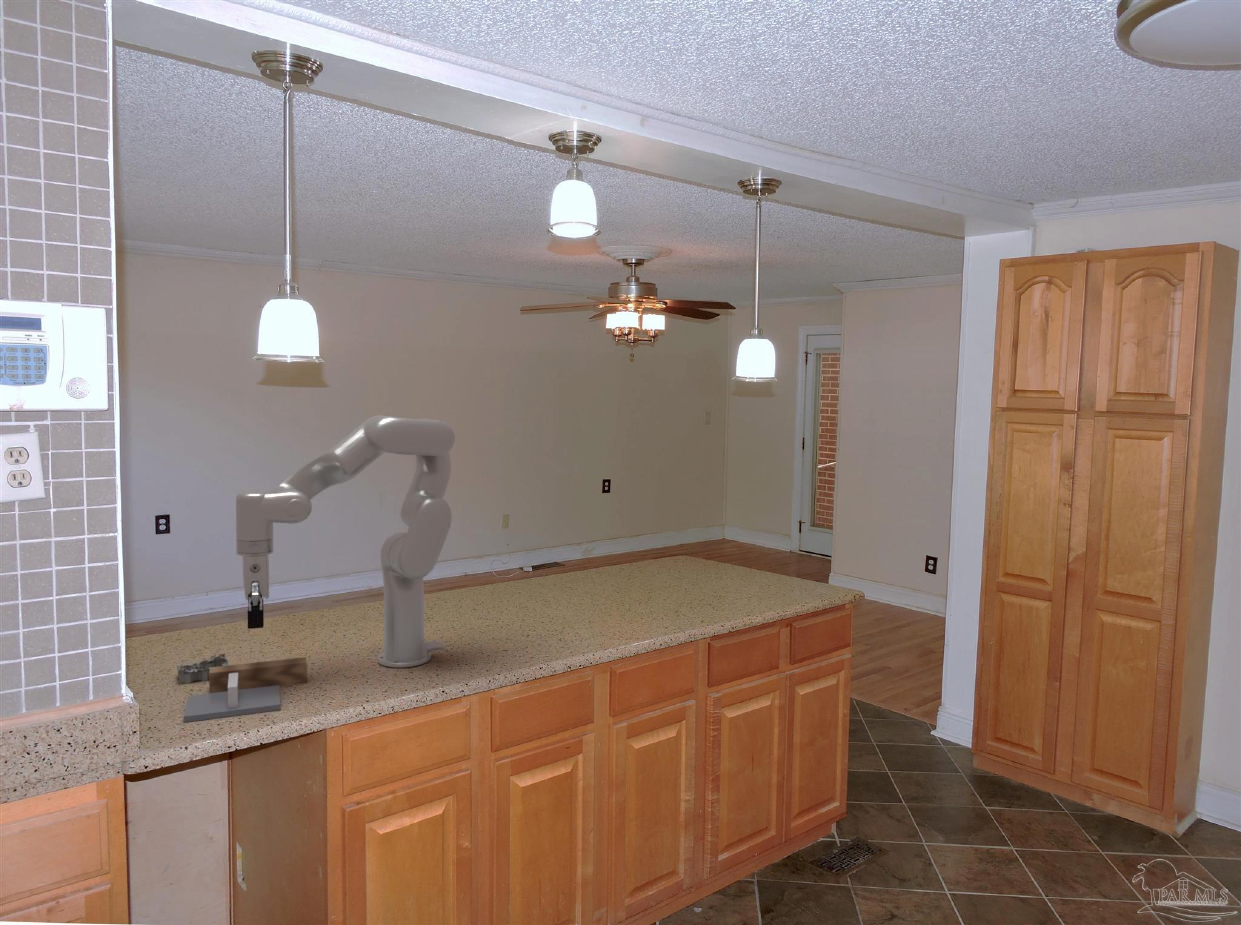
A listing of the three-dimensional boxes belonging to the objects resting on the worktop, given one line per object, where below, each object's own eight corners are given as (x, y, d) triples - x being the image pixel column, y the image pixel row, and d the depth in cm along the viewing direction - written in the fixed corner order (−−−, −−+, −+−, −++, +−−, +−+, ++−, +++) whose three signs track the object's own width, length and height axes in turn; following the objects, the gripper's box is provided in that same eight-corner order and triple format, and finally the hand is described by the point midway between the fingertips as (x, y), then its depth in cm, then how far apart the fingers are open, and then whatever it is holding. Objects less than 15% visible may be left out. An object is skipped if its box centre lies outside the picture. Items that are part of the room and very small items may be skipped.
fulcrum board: (279, 690, 188) (278, 665, 187) (280, 709, 177) (279, 683, 176) (188, 701, 181) (187, 675, 180) (183, 722, 170) (182, 695, 169)
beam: (306, 678, 196) (305, 657, 196) (307, 683, 193) (306, 662, 192) (210, 689, 189) (210, 667, 188) (209, 695, 185) (209, 673, 185)
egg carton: (227, 669, 202) (227, 652, 201) (229, 678, 195) (229, 661, 195) (177, 675, 197) (176, 658, 196) (177, 686, 190) (177, 668, 190)
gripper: (273, 552, 181) (274, 631, 183) (272, 538, 197) (273, 610, 198) (235, 554, 178) (236, 634, 180) (237, 540, 194) (238, 613, 196)
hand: (255, 621), depth 189 cm, fingers open, 9 cm apart
